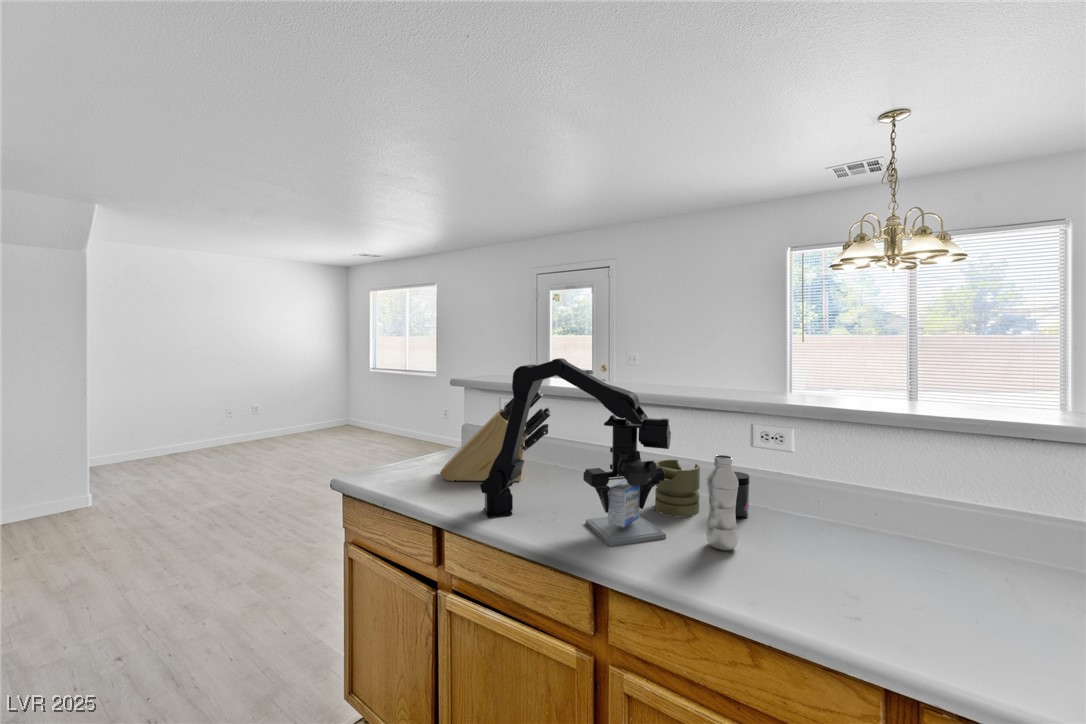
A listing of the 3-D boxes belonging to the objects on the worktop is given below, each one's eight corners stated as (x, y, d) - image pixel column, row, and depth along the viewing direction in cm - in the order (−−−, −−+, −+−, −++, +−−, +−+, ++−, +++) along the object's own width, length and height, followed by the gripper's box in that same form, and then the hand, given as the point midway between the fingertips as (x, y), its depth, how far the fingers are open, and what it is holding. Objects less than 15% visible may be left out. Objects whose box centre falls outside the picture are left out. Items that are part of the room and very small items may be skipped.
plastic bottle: (723, 556, 105) (724, 462, 104) (699, 544, 111) (700, 455, 110) (744, 550, 108) (746, 458, 107) (720, 539, 114) (722, 452, 113)
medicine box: (624, 528, 114) (625, 491, 114) (607, 523, 117) (607, 487, 117) (639, 518, 121) (640, 483, 120) (623, 514, 123) (623, 479, 123)
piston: (685, 473, 125) (647, 464, 133) (685, 520, 126) (646, 509, 134) (707, 464, 133) (670, 457, 141) (707, 509, 133) (669, 499, 142)
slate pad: (609, 546, 110) (609, 541, 110) (585, 523, 124) (585, 519, 124) (665, 538, 114) (666, 533, 114) (636, 517, 128) (636, 512, 128)
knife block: (551, 482, 158) (551, 384, 156) (439, 482, 158) (438, 384, 157) (551, 472, 169) (551, 381, 167) (446, 472, 170) (445, 381, 168)
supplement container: (744, 521, 125) (745, 480, 124) (717, 515, 129) (717, 475, 128) (752, 513, 130) (753, 474, 130) (725, 508, 134) (726, 469, 134)
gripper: (602, 456, 107) (601, 527, 108) (678, 450, 113) (677, 518, 114) (582, 445, 118) (582, 510, 119) (653, 440, 124) (652, 502, 124)
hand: (623, 510), depth 119 cm, fingers closed on medicine box, 9 cm apart
